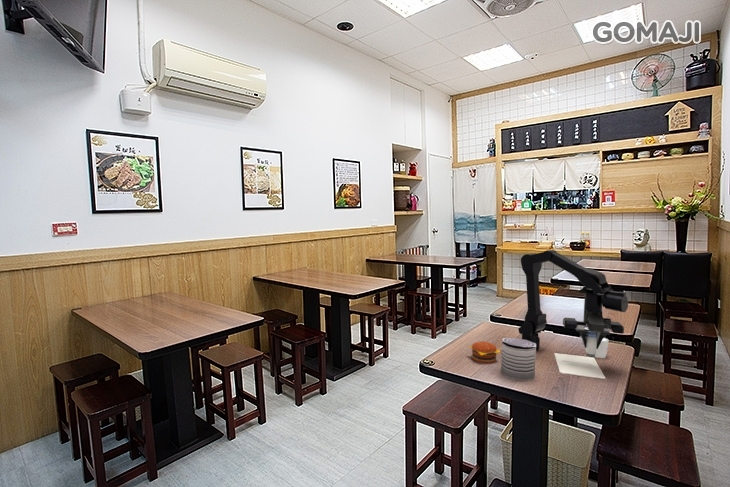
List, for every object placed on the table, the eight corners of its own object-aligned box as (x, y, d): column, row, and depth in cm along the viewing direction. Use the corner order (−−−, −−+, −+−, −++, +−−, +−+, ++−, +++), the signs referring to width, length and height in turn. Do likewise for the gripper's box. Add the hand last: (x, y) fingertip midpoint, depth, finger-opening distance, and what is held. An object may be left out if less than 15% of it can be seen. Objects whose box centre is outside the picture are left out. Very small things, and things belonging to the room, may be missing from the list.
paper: (559, 373, 137) (560, 372, 137) (554, 353, 156) (554, 352, 156) (605, 379, 132) (605, 378, 132) (593, 358, 151) (593, 357, 151)
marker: (586, 356, 141) (587, 332, 141) (584, 353, 145) (585, 330, 144) (596, 358, 140) (598, 334, 140) (594, 354, 144) (596, 331, 143)
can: (493, 370, 139) (494, 338, 138) (517, 365, 144) (518, 334, 143) (518, 383, 129) (519, 348, 128) (542, 377, 133) (544, 343, 132)
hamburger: (486, 353, 156) (486, 337, 155) (501, 362, 147) (502, 345, 146) (466, 356, 153) (466, 340, 152) (480, 365, 144) (481, 348, 143)
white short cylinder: (610, 359, 150) (611, 341, 149) (591, 358, 151) (592, 340, 150) (603, 353, 156) (604, 336, 156) (585, 351, 158) (586, 335, 157)
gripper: (567, 309, 137) (565, 352, 138) (629, 314, 130) (627, 359, 132) (563, 302, 147) (561, 342, 148) (620, 306, 141) (618, 348, 142)
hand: (591, 348), depth 142 cm, fingers closed on marker, 3 cm apart
